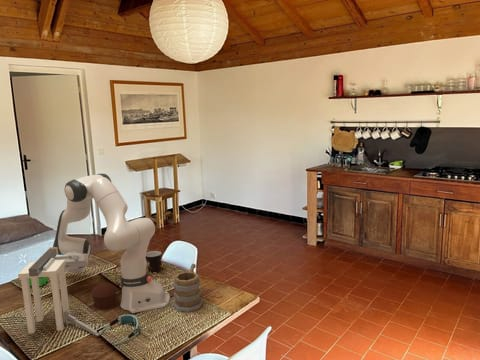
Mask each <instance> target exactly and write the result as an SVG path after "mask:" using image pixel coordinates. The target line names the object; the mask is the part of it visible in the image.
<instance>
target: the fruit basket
mask: <svg viewBox="0 0 480 360" xmlns="http://www.w3.org/2000/svg"><path fill="white" fill-rule="evenodd" d="M48 279H49V276H48V277H38V280H39V286H42V285H43V284H44V285H46V284H47V283H48ZM46 282H47V283H46ZM44 285H43V286H44ZM29 286H32V282H31V278H29ZM43 286H42V287H43Z"/></svg>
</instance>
